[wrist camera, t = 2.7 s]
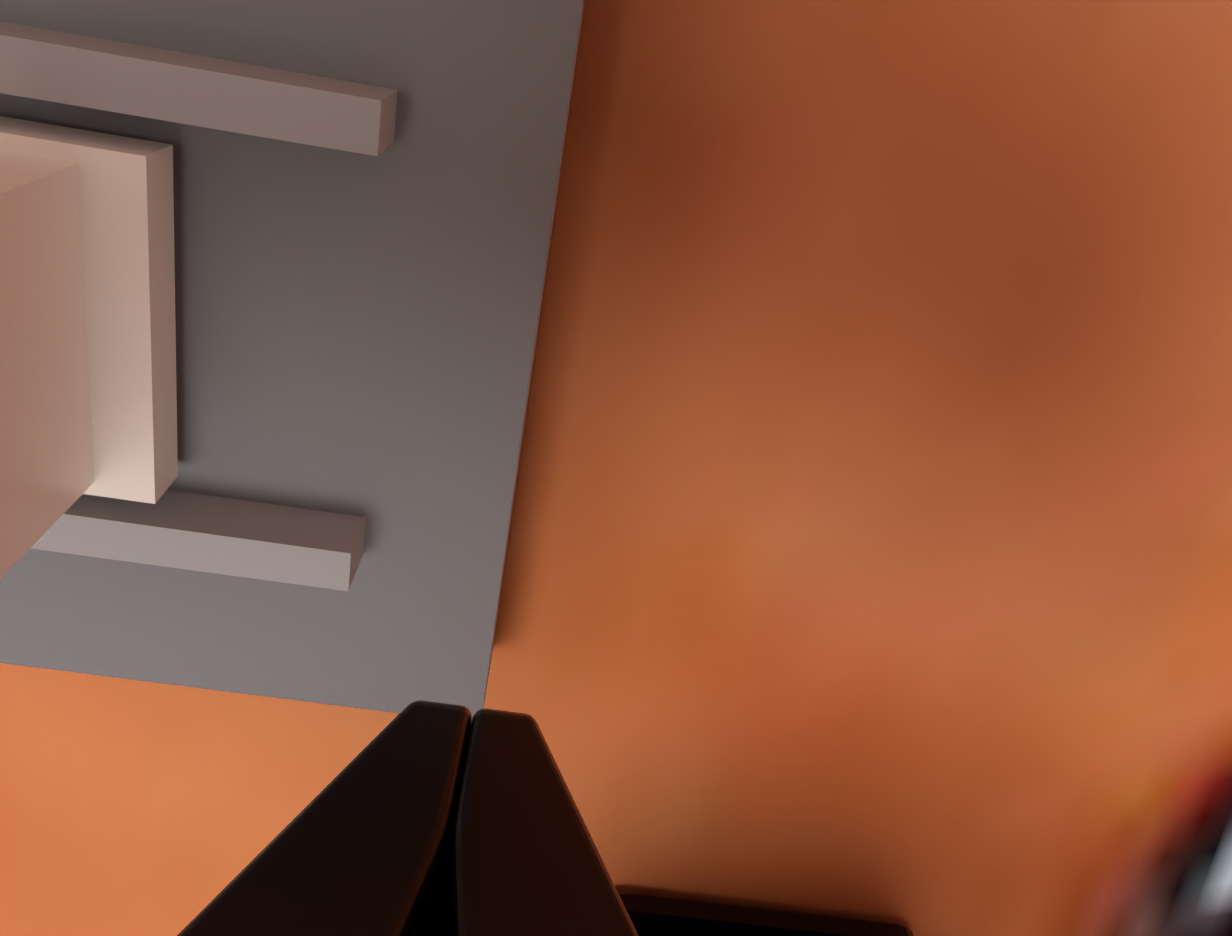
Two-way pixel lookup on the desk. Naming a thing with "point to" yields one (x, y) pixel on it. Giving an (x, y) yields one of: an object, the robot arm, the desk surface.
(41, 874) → the desk surface
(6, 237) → the fader tab
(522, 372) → the console board
